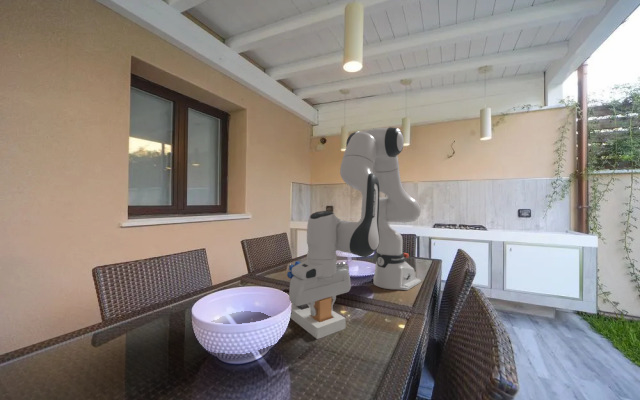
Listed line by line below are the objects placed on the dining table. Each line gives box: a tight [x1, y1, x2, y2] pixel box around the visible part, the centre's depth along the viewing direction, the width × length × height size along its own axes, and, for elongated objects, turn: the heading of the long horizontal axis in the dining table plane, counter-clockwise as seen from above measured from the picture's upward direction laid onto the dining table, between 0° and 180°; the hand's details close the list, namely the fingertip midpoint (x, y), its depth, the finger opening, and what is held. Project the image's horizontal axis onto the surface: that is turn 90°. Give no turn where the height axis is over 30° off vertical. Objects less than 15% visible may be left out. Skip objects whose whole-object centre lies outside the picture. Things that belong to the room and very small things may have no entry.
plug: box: [313, 297, 331, 322], centre depth 77 cm, size 4×4×10 cm
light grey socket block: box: [290, 303, 347, 340], centre depth 81 cm, size 10×20×4 cm, turn 35°
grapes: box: [286, 260, 302, 282], centre depth 110 cm, size 12×7×12 cm, turn 104°
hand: (321, 312), depth 77 cm, fingers open, 4 cm apart
